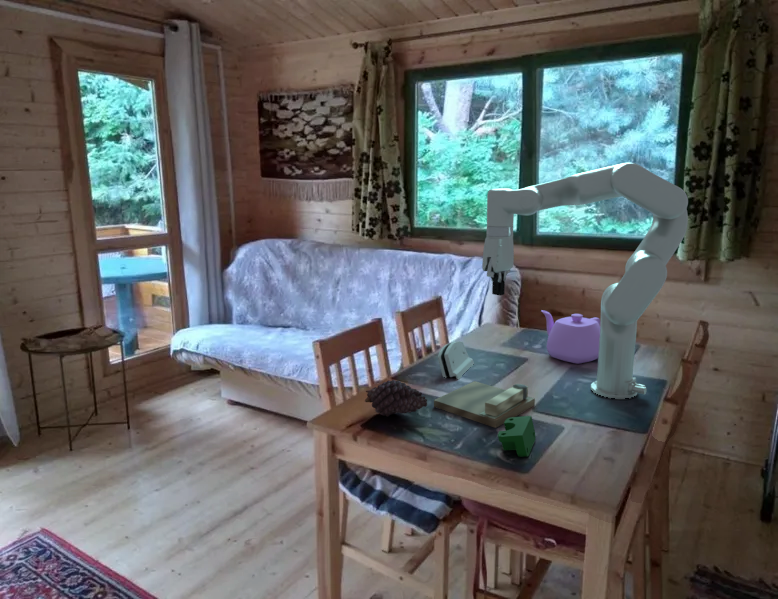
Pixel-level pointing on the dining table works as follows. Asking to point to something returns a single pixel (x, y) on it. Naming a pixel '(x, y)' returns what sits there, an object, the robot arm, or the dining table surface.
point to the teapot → (573, 338)
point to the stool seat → (479, 404)
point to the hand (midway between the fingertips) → (498, 294)
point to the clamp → (518, 435)
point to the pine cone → (395, 398)
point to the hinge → (454, 360)
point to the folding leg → (506, 399)
